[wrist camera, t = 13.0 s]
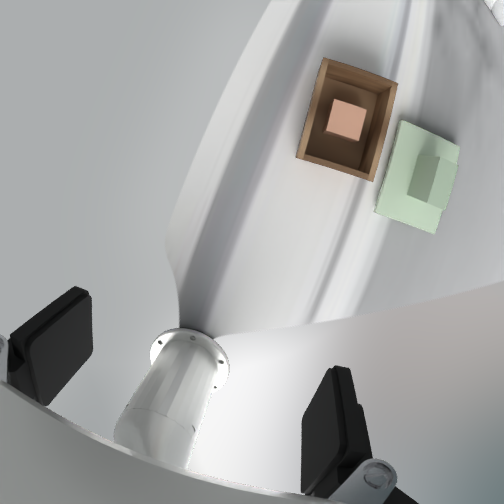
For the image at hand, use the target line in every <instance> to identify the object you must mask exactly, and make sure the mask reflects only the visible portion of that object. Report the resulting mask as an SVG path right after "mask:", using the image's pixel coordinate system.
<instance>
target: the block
mask: <svg viewBox="0 0 504 504" xmlns="http://www.w3.org/2000/svg"><path fill="white" fill-rule="evenodd" d="M366 111H367V110H366V109H363V108H360V107H358V106H355V105H352V104H349V103H346V102H343V101H340V100H336V99H334V100H333V101H332V102H331V103H330V106H329V110H328V114H327V117H326V121H325V125H324V129H323V132H322V133H325V134H329V135H332V136H335V137H338V138H341V139H344V140H347V141H350V142H356V141H359V138H360V134H361V131H362V127H363V123H364V119H365V115H366Z"/></svg>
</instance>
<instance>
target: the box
mask: <svg viewBox="0 0 504 504" xmlns="http://www.w3.org/2000/svg"><path fill="white" fill-rule="evenodd" d="M397 86H398V83H396V82H394V81H391V80H389V79H386V78H384V77H381V76H378V75H376V74H373V73H370V72H367V71H365V70H362V69H359V68H356V67H353V66H350V65H347V64H344V63H341V62H337V61H334V60H331V59H327V58H324V57H323V60H322V63H321V66H320V68H319V71H318V75H317V79H316V83H315V87H314V90H313V94H312V98H311V102H310V106H309V109H308V113H307V117H306V121H305V125H304V128H303V132H302V136H301V140H300V143H299V147H298V151H297V154H296V158H298V159H302V160H305V161H309V162H312V163H316V164H319V165H322V166H326V167H329V168H332V169H335V170H338V171H342V172H345V173H348V174H351V175H354V176H357V177H360V178H363V179H366V180H369V181H371V182H373V180H374V177H375V173H376V170H377V166H378V163H379V159H380V156H381V152H382V148H383V144H384V141H385V137H386V133H387V129H388V125H389V121H390V117H391V112H392V108H393V104H394V99H395V95H396V90H397ZM334 99H336V100H340V101H343V102H346V103H349V104H352V105H355V106H358V107H360V108H363V109H366V110H367V111H366V115H365V119H364V123H363V127H362V131H361V134H360V138H359V141H356V142H350V141H347V140H344V139H341V138H338V137H335V136H332V135H329V134H325V133H322V132H323V129H324V125H325V121H326V117H327V114H328V110H329V106H330V103H331V102H332V101H333V100H334Z"/></svg>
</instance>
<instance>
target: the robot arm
mask: <svg viewBox="0 0 504 504" xmlns="http://www.w3.org/2000/svg"><path fill="white" fill-rule="evenodd" d="M91 299H92V298H91V296H90V295H89V293H88V291H87V290H84V289H82V288H79V287H76V286H74V287H73V288H71V289H70V290H68V291H67V292H66V293H65V294H63V295H61V296H60V297H59V298H57V299H56V300H55V301H53V302H52V303H51V304H49V305H48V306H47V307H46V308H44V309H43V310H41V311H40V312H39V313H37V314H36V315H35V316H33V317H32V318H31V319H29V320H28V321H27V322H25V323H24V324H23V325H22V326H20V327H19V328H18V329H17V330H15V331H14V332H13V333H11V334H10V339H9V340H6V338H5V337H4V336H2V335H0V504H418V503H417V502H416V501H414V500H413V499H412V498H410V497H409V496H408V495H406V494H405V493H403V492H402V491H401V490H399V489H398V488H397V487H396V486H395V485H396V483H397V474H396V471H395V470H394V468H393V467H392V466H391V465H390V464H389V463H387V462H385V461H384V460H380V459H373V457H372V452H371V446H370V441H369V436H368V431H367V426H366V421H365V417H364V411H363V408H362V406H361V405H360V404H358V403H357V398H356V393H355V389H354V384H353V380H352V375H351V371H350V369H349V368H346V367H341V366H334V367H333V368H332V369H331V368H329V369H328V370H327V372H326V374H325V376H324V377H323V379H322V381H321V384H320V385H319V387H318V389H317V391H316V393H315V395H314V397H313V398H312V400H311V402H310V404H309V406H308V408H307V409H306V411H305V413H304V415H303V418H302V446H301V448H302V449H301V493H305V495H300V494H294V493H287V492H281V491H275V490H269V489H264V488H259V487H254V486H249V485H244V484H239V483H235V482H230V481H226V480H222V479H218V478H214V477H211V476H206V475H203V474H199V473H196V472H193V471H189V470H187V467H188V464H189V461H190V458H191V455H192V452H193V449H194V446H195V443H196V440H197V437H198V434H199V431H200V427H201V425H202V421H203V419H204V416H205V412H206V409H207V406H208V403H209V400H210V397H211V394H212V393H213V392H215V391H217V390H219V389H220V388H221V387H222V386H223V385H224V384H225V383H226V380H227V378H228V375H229V366H230V365H229V361H228V358H227V356H226V354H225V352H224V351H223V349H222V348H221V347H220V346H219V345H218V344H217V343H216V342H215V341H214V340H213V339H211V338H210V337H209V336H207V335H205V334H203V333H201V332H198V331H195V330H191V329H186V328H176V329H170V330H168V331H165V332H163V333H162V334H160V335H159V336H158V337H157V338H156V340H155V341H154V343H153V344H152V347H151V350H150V359H151V363H152V365H151V367H150V368H149V370H148V372H147V373H146V375H145V376H144V378H143V380H142V382H141V383H140V385H139V386H138V388H137V390H136V391H135V393H134V394H133V396H132V398H131V399H130V401H129V403H128V404H127V406H126V408H125V409H124V411H123V413H122V414H121V416H120V418H119V419H118V421H117V423H116V426H115V429H114V442H112V441H110V440H107V439H105V438H103V437H101V436H99V435H97V434H95V433H93V432H91V431H88V430H86V429H84V428H82V427H81V426H79V425H77V424H75V423H73V422H71V421H69V420H67V419H65V418H63V417H62V416H60V415H58V414H56V413H55V412H53V411H51V410H50V409H48V408H46V407H45V406H48V405H49V404H50V403H51V401H52V400H53V399H54V398H55V397H56V395H57V394H58V393H59V392H60V391H61V390H62V388H63V387H64V386H65V385H66V384H67V383H68V381H69V380H70V379H71V378H72V377H73V376H74V374H75V373H76V372H77V371H78V370H79V369H80V368H81V366H82V365H83V364H84V363H85V362H86V361H87V359H88V358H89V357H90V356H91V354H92V352H93V337H92V300H91Z"/></svg>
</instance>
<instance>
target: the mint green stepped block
mask: <svg viewBox="0 0 504 504" xmlns="http://www.w3.org/2000/svg"><path fill="white" fill-rule="evenodd" d="M459 151H460V147H459V146H457V145H455V144H453V143H451V142H449V141H447V140H445V139H443V138H441V137H439V136H437V135H435V134H433V133H431V132H429V131H426V130H424V129H422V128H420V127H418V126H415V125H413V124H411V123H408V122H406V121H404V120H400V121H399V125H398V129H397V133H396V137H395V141H394V145H393V149H392V152H391V156H390V160H389V163H388V167H387V170H386V174H385V177H384V180H383V184H382V187H381V190H380V193H379V197H378V200H377V203H376V206H375V209H374V212H375V213H377V214H380V215H383V216H386V217H388V218H391V219H394V220H397V221H400V222H402V223H405V224H408V225H411V226H413V227H416V228H419V229H422V230H424V231H427V232H429V233H432V234H435V231H436V229H437V226H438V223H439V220H440V217H441V214H442V211H443V210H446V207H447V203H448V200H449V197H450V194H451V190H452V187H453V183H454V180H455V176H456V173H457V169H458V165H457V164H456V163H457V159H458V155H459Z"/></svg>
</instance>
